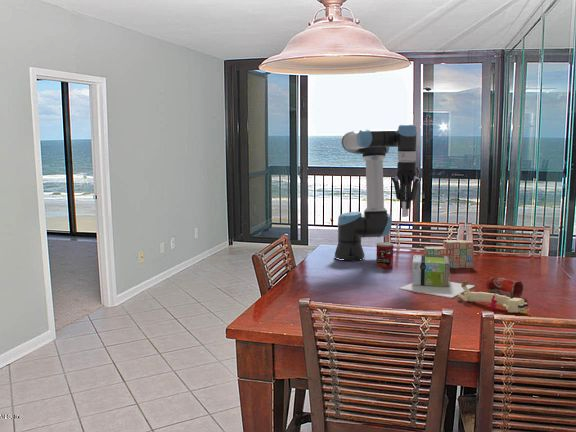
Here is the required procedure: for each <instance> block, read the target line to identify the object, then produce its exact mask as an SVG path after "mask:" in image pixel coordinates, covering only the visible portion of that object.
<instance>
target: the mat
mask: <svg viewBox="0 0 576 432" xmlns="http://www.w3.org/2000/svg"><path fill="white" fill-rule="evenodd" d="M461 285H462V283H459V282H454V281H449V287H441V286H423V285H412V282H411V283H408V284H406V285H403V286H401V287H399V288H398V290H403V291H409V292H413V293H414V292H415V293H420V294H426V295H431V296H437V297H443V298H449V299H453V298H455V297H458V294H464V292H466V291H465V290H464V289H463V288H462V287H461ZM466 287H467V288H468V289H469V290H471V289H473V288H475V287H476V285H473V284H468V285H466Z"/></svg>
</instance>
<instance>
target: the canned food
mask: <svg viewBox="0 0 576 432" xmlns="http://www.w3.org/2000/svg"><path fill="white" fill-rule="evenodd" d="M375 256H376V258H375V259H376V260H375V261H376V267H377V266H378V267H377V268H379V267H382V268H381V269H390V267H391V268H393V266H394V243H393V242H388V241H387V242H385V241H384V242H383V241H381V242H377V243H376V255H375Z"/></svg>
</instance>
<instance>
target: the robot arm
mask: <svg viewBox="0 0 576 432" xmlns="http://www.w3.org/2000/svg"><path fill="white" fill-rule="evenodd" d="M417 136H418V133H417V125H415V124H400V125H399V126H398V128H397V129H360V130H352V131H348V132H347V133H345V134H344V135H343V136H342V138H341V146H342V148H343V149H344V151H346V152H348V153H351V154H354V155H362V159H364V161H365V180H366V181H365V183H366V185H365V187H366V208H365V209H364V210H363V214H362V212H361V211H351V212H345V213H341V214H340V215H339V216H338V217H337V218H338V219H337V246H336V248H335V252H334V258H335V257H336V258H339V259H344V260H359V261H361V260H360V259H363V258H364V259H365V252H364V248H363V245H362V238H381V237H387V236H388V235H389V233H390V231H391V229H392V221H393V220H392V216H391V214H390V213H388V210H387V209H386V208H385V199H384V198H385V197H384V195H385V193H384V171H383V170H384V165H383V164H384V159H385V158H386V155H387V154H388V153H389V151H390V148H397V166H396V167H397V169H396V170H397V173H396V175H395V176H393V177H391V181H392V182H393V186H394V187H393V188H394V192H395V197H396V198H395V199H396V200H398V201H400V209H401V211H402V212H401V217H403V218H406V217H409V210H410V209H411V202H412V201H414V200H415V199H416V195H417V192H418V187H419V184H420V182H421V180H422V179H421V178H419V177H417V174H416V167H417V166H416V157H417V154H416V153H417ZM364 259H363V260H364Z"/></svg>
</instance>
